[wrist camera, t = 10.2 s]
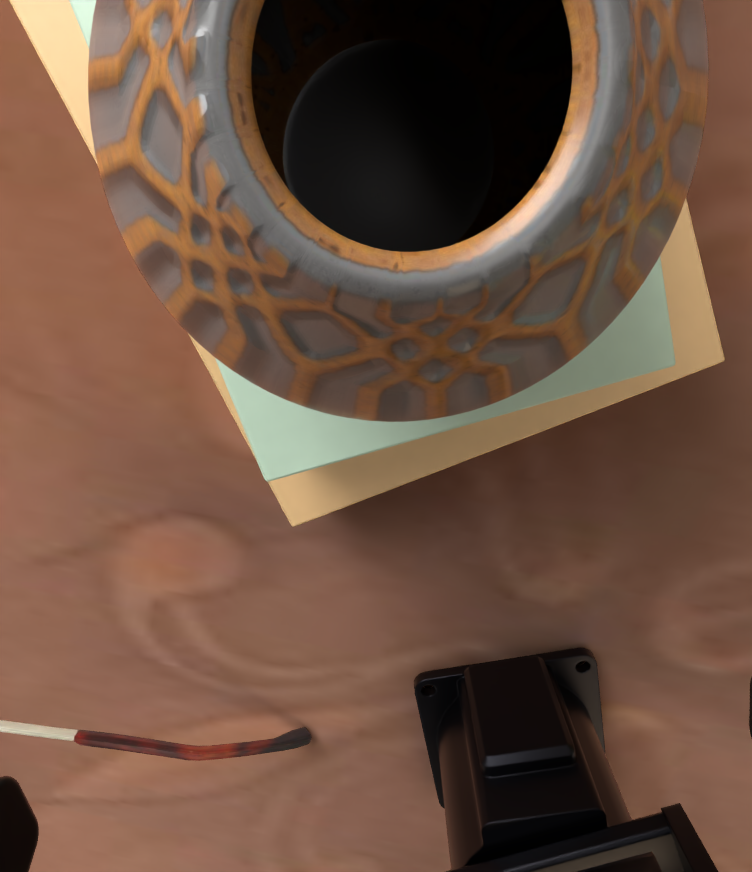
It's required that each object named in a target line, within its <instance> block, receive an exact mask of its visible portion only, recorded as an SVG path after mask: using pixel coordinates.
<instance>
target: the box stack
mask: <svg viewBox="0 0 752 872" xmlns="http://www.w3.org/2000/svg"><path fill="white" fill-rule="evenodd" d="M9 1H10V3H11V5H12V7H13V9H14V10H15V12H16V14H17V16H18V18H19V20H20V22H21V24H22V25H23V27H24V29H25V31H26V33H27V35H28V37H29V38H30V40H31V42H32V44H33V46H34V48H35V50H36V51H37V53H38V55H39V57H40V59H41V61H42V63H43V64H44V66H45V68H46V70H47V72H48V74H49V76H50V77H51V79H52V81H53V83H54V85H55V87H56V89H57V91H58V92H59V94H60V96H61V98H62V100H63V102H64V104H65V105H66V107H67V109H68V111H69V113H70V115H71V117H72V118H73V120H74V122H75V124H76V126H77V128H78V130H79V131H80V133H81V135H82V137H83V139H84V141H85V143H86V144H87V146H88V148H89V150H90V152H91V154H92V156H93V158H94V159H95V161H96V163H97V159H96V155H95V150H94V143H93V137H92V131H91V123H90V111H89V99H88V63H89V45H90V37H91V29H92V21H93V14H94V9H95V5H96V0H9ZM97 165H98V164H97ZM188 334H189V333H188ZM189 336H190V338H191V340H192V342H193V344H194V345H195V347H196V349H197V351H198V353H199V355H200V357H201V358H202V360H203V362H204V364H205V366H206V368H207V370H208V372H209V373H210V375H211V377H212V379H213V381H214V383H215V385H216V386H217V388H218V390H219V392H220V394H221V396H222V398H223V399H224V401H225V403H226V405H227V407H228V409H229V411H230V412H231V414H232V416H233V418H234V420H235V422H236V424H237V425H238V427H239V429H240V431H241V433H242V435H243V437H244V438H245V440H246V442H247V444H248V446H249V448H250V450H251V452H252V453H253V455H254V457H255V459H256V461H257V463H258V465H259V467H260V470H261V472H262V475H263V477H264V479H265V480H266V482H268V483H269V485H270V487H271V489H272V491H273V492H274V494H275V496H276V498H277V500H278V502H279V504H280V505H281V507H282V509H283V511H284V513H285V515H286V517H287V519H288V520H289V522H290V524H291V526H292V527H295V526H298V525H300V524H303V523H306V522H308V521H311V520H313V519H316V518H319V517H321V516H324V515H326V514H329V513H332V512H334V511H337V510H339V509H342V508H345V507H347V506H350V505H352V504H355V503H357V502H360V501H363V500H365V499H368V498H370V497H373V496H376V495H378V494H381V493H383V492H386V491H389V490H391V489H394V488H396V487H399V486H402V485H404V484H407V483H409V482H412V481H415V480H417V479H420V478H422V477H425V476H428V475H430V474H433V473H435V472H438V471H441V470H443V469H446V468H448V467H451V466H454V465H456V464H459V463H461V462H464V461H467V460H469V459H472V458H474V457H477V456H480V455H482V454H485V453H487V452H490V451H493V450H495V449H498V448H500V447H503V446H506V445H508V444H511V443H513V442H516V441H519V440H521V439H524V438H526V437H529V436H532V435H534V434H537V433H539V432H542V431H545V430H547V429H550V428H552V427H555V426H558V425H560V424H563V423H565V422H568V421H571V420H573V419H576V418H578V417H581V416H584V415H586V414H589V413H591V412H594V411H597V410H599V409H602V408H604V407H607V406H610V405H612V404H615V403H617V402H620V401H623V400H625V399H628V398H630V397H633V396H636V395H638V394H641V393H643V392H646V391H649V390H651V389H654V388H656V387H659V386H661V385H664V384H667V383H669V382H672V381H674V380H677V379H680V378H682V377H685V376H687V375H690V374H693V373H695V372H698V371H700V370H703V369H706V368H708V367H711V366H713V365H716V364H719V363H721V362H723V361H724V355H723V350H722V346H721V342H720V338H719V334H718V329H717V325H716V321H715V317H714V313H713V309H712V304H711V300H710V296H709V292H708V288H707V283H706V279H705V275H704V271H703V267H702V262H701V258H700V254H699V250H698V246H697V242H696V237H695V233H694V229H693V225H692V221H691V216H690V212H689V208H688V204H687V200H686V199H685V202H684V205H683V207H682V210H681V213H680V215H679V218H678V220H677V222H676V225H675V227H674V229H673V231H672V233H671V236H670V238H669V240H668V242H667V244H666V246H665V247H664V249H663V251H662V253H661V255H660V257H659V259H658V261H657V262H656V264H655V265H654V267H653V269H652V270H651V272H650V273H649V275H648V277H647V278H646V280H645V281H644V283H643V284H642V286H641V287H640V288H639V290H638V291H637V293H636V294H635V295H634V297H633V298H632V299H631V301H630V302H629V303H628V304H627V306H626V307H625V308H624V309H623V310H622V312H621V313H620V314H619V315H618V316H617V318H616V319H615V320H614V321H613V322H612V323H611V324H610V325H609V326H608V327H607V328H606V329H605V330H604V331H603V332H602V333H601V334H600V335H599V336H598V337H597V338H596V339H595V340H594V341H593V342H592V343H591V344H590V345H589V346H587V347H586V348H585V349H584V350H583V351H582V352H581V353H579V354H578V355H577V356H575V357H574V358H573V359H572V360H570V361H569V362H568V363H567V364H565V365H564V366H562V367H561V368H559V369H558V370H557V371H555V372H554V373H552V374H551V375H549V376H548V377H546V378H544V379H543V380H541V381H539V382H537V383H536V384H534V385H532V386H531V387H529V388H527V389H525V390H523V391H521V392H519V393H517V394H515V395H513V396H510V397H508V398H506V399H503V400H501V401H498V402H496V403H493V404H491V405H488V406H485V407H482V408H479V409H476V410H472V411H469V412H465V413H461V414H457V415H453V416H448V417H442V418H436V419H430V420H420V421H408V422H382V421H366V420H359V419H351V418H345V417H340V416H335V415H331V414H326V413H323V412H319V411H316V410H312V409H309V408H306V407H303V406H300V405H298V404H295V403H292V402H290V401H287V400H285V399H283V398H280V397H278V396H276V395H274V394H272V393H269V392H267V391H266V390H264V389H262V388H260V387H258V386H257V385H255V384H253V383H251V382H249V381H248V380H246V379H245V378H243V377H242V376H240V375H239V374H237V373H235V372H234V371H232V370H231V369H230V368H228V367H227V366H226V365H224V364H223V363H222V362H220V361H219V360H218V359H216V358H215V357H214V356H212V355H211V354H210V353H209V352H208V351H207V350H206V349H204V348H203V347H202V346H201V345H200V344H199V343H198V342H197V341H196V340H195V339H194V338H193V337H192V336H191V335H190V334H189Z"/></svg>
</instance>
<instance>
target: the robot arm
mask: <svg viewBox="0 0 752 872" xmlns="http://www.w3.org/2000/svg"><path fill="white" fill-rule="evenodd" d="M581 661H586V662H585V663H584V664H581V665H577V664H578V663H579V662H581ZM426 685H432V686H433V687H431V688H424V686H426ZM414 688H415V696H416V700H417V705H418V709H419V714H420V718H421V723H422V727H423V732H424V736H425V741H426V745H427V750H428V754H429V759H430V763H431V768H432V772H433V777H434V781H435V786H436V790H437V795H438V799H439V803H440V805H441V806H442V807H443V808H444V809H445V816H446V825H447V834H448V844H449V853H450V862H451V870H450V871H446V872H718V870H717V869H716V867H715V865H714V863H713V861H712V860H711V858H710V856H709V854H708V853H707V851H706V849H705V847H704V845H703V844H702V842H701V840H700V838H699V836H698V835H697V833H696V831H695V829H694V828H693V826H692V824H691V822H690V820H689V819H688V817H687V815H686V813H685V812H684V810H683V808H682V806H681V804H680V803H679V804H675V805H671V806H668V807H664V808H661V810H662V812H660V813H657V814H653V815H649V816H646V817H642V818H639V819H635V820H632V819H631V817H630V815H629V812H628V810H627V807H626V805H625V802H624V800H623V797H622V795H621V792H620V790H619V787H618V785H617V782H616V780H615V778H614V775H613V773H612V770H611V768H610V765H609V763H608V760H607V758H606V755H605V745H604V734H603V723H602V713H601V702H600V691H599V680H598V669H597V663H596V660H595V658H594V656H593V654H592V652H591V651H589V650H588V649H585V648H575V649H568V650H562V651H556V652H549V653H543V654H536V655H530V656H524V657H517V658H511V659H504V660H498V661H492V662H485V663H479V664H472V665H466V666H460V667H453V668H447V669H440V670H434V671H427V672H423V673H420V674H419V675H418V676H417V677H416V678H415V680H414ZM749 727H750V734H751V737H752V677H751V681H750V715H749ZM38 834H39V828H38V822H37V819H36V817H35V815H34V813H33V811H32V809H31V807H30V805H29V803H28V801H27V799H26V797H25V795H24V793H23V791H22V789H21V787H20V785H19V783H18V782H17V780H15V779H14V778H12V777H9V776H3V777H0V872H28V871H29V868H30V865H31V862H32V859H33V855H34V852H35V849H36V846H37V841H38Z"/></svg>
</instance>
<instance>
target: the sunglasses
mask: <svg viewBox="0 0 752 872" xmlns="http://www.w3.org/2000/svg"><path fill="white" fill-rule="evenodd" d="M0 732H7V733H14V734H21V735H28V736H36V737H44V738H52V739H60V740H68V741H75V742H76V743H78V744H79V745H84V746H92V747H100V748H108V749H116V750H123V751H130V752H137V753H144V754H151V755H158V756H165V757H171V758H177V759H184V760H198V761H200V760H212V759H223V758H232V757H241V756H249V755H256V754H262V753H269V752H277V751H284V750H289V749H294V748H298V747H301V746H304V745H307V744H309V743H310V741H311V738H312V737H311V734H310V733H309V731H308V730H307V729H306V728H305V727H303V728H299V729H296V730H292V731H290V732H287V733H285V734H283V735H281V736H279V737H277V738H274V739H268V740H260V741H252V742H243V743H233V744H223V745H212V746H191V745H185V744H178V743H172V742H166V741H159V740H153V739H146V738H140V737H133V736H126V735H120V734H112V733H104V732H95V731H87V730H76V729H66V728H56V727H49V726H42V725H35V724H27V723H20V722H13V721H6V720H0Z"/></svg>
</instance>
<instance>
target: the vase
mask: <svg viewBox="0 0 752 872" xmlns="http://www.w3.org/2000/svg"><path fill="white" fill-rule="evenodd" d="M708 71H709V67H708V46H707V28H706V21H705V13H704V6H703V0H96V5H95V9H94V14H93V21H92V29H91V37H90V45H89V63H88V99H89V111H90V123H91V131H92V137H93V143H94V150H95V155H96V159H97V164H98V168H99V172H100V177H101V180H102V184H103V187H104V190H105V193H106V197H107V200H108V203H109V206H110V208H111V211H112V214H113V216H114V219H115V222H116V224H117V227H118V229H119V231H120V233H121V235H122V237H123V240H124V242H125V244H126V246H127V248H128V250H129V252H130V254H131V256H132V257H133V259H134V261H135V263H136V265H137V267H138V268H139V270H140V272H141V273H142V275H143V276H144V278H145V279H146V281H147V283H148V284H149V286H150V287H151V289H152V290H153V292H154V293H155V294H156V296H157V297H158V298H159V300H160V301H161V302H162V304H163V305H164V306H165V308H166V309H167V310H168V311H169V312H170V314H171V315H172V316H173V317H174V318H175V319H176V321H177V322H178V323H179V324H180V325H181V326H182V327H183V328H184V329H185V330H186V331H187V332H188V333H189V334H190V335H191V336H192V337H193V338H194V339H195V340H196V341H197V342H198V343H199V344H200V345H201V346H202V347H203V348H204V349H206V350H207V351H208V352H209V353H210V354H211V355H212V356H214V357H215V358H216V359H218V360H219V361H220V362H222V363H223V364H224V365H226V366H227V367H228V368H230V369H231V370H232V371H234V372H235V373H237V374H239V375H240V376H242V377H243V378H245V379H246V380H248V381H249V382H251V383H253V384H255V385H257V386H258V387H260V388H262V389H264V390H266V391H267V392H269V393H272V394H274V395H276V396H278V397H280V398H283V399H285V400H287V401H290V402H292V403H295V404H298V405H300V406H303V407H306V408H309V409H312V410H316V411H319V412H323V413H326V414H331V415H335V416H340V417H345V418H351V419H359V420H366V421H382V422H408V421H420V420H430V419H436V418H442V417H448V416H453V415H457V414H461V413H465V412H469V411H472V410H476V409H479V408H482V407H485V406H488V405H491V404H493V403H496V402H498V401H501V400H503V399H506V398H508V397H510V396H513V395H515V394H517V393H519V392H521V391H523V390H525V389H527V388H529V387H531V386H532V385H534V384H536V383H537V382H539V381H541V380H543V379H544V378H546V377H548V376H549V375H551V374H552V373H554V372H555V371H557V370H558V369H559V368H561V367H562V366H564V365H565V364H567V363H568V362H569V361H570V360H572V359H573V358H574V357H575V356H577V355H578V354H579V353H581V352H582V351H583V350H584V349H585V348H586V347H587V346H589V345H590V344H591V343H592V342H593V341H594V340H595V339H596V338H597V337H598V336H599V335H600V334H601V333H602V332H603V331H604V330H605V329H606V328H607V327H608V326H609V325H610V324H611V323H612V322H613V321H614V320H615V319H616V318H617V316H618V315H619V314H620V313H621V312H622V310H623V309H624V308H625V307H626V306H627V304H628V303H629V302H630V301H631V299H632V298H633V297H634V295H635V294H636V293H637V291H638V290H639V288H640V287H641V286H642V284H643V283H644V281H645V280H646V278H647V277H648V275H649V273H650V272H651V270H652V269H653V267H654V265H655V264H656V262H657V261H658V259H659V257H660V255H661V253H662V251H663V249H664V247H665V246H666V244H667V242H668V240H669V238H670V236H671V233H672V231H673V229H674V227H675V225H676V222H677V220H678V218H679V215H680V213H681V210H682V207H683V205H684V202H685V199H686V197H687V194H688V191H689V188H690V184H691V181H692V178H693V174H694V171H695V167H696V164H697V159H698V155H699V150H700V146H701V141H702V136H703V129H704V122H705V116H706V107H707V95H708Z"/></svg>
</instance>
